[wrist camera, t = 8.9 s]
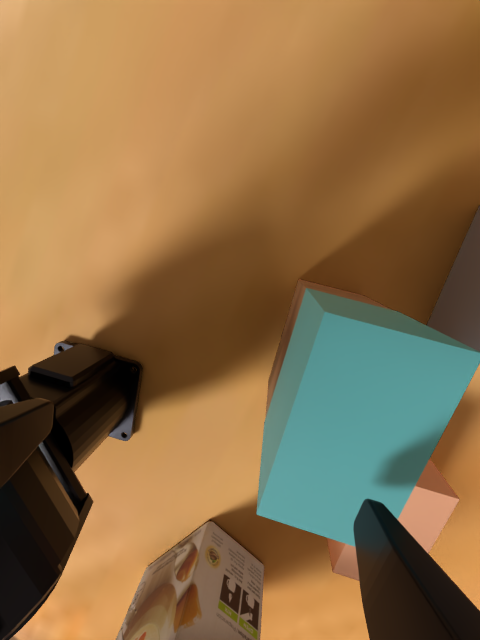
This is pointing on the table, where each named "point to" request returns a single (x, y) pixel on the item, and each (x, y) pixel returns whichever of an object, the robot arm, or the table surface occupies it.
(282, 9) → the table surface
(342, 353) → the teal brick
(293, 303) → the walnut brick
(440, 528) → the terracotta brick
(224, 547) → the coffee box
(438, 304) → the charcoal brick
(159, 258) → the table surface
